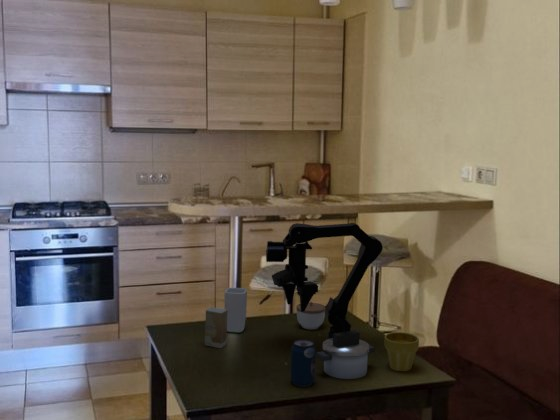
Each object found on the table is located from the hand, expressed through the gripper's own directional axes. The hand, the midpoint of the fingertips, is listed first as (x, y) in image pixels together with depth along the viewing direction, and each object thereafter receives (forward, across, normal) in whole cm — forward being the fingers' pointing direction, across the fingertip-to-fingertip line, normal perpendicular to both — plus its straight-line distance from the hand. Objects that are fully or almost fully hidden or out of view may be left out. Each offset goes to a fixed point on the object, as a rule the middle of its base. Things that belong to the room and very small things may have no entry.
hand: (295, 307), depth 216 cm
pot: (+13, +26, +3) cm, 29 cm away
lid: (+6, +26, +3) cm, 27 cm away
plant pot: (+13, +31, +20) cm, 39 cm away
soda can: (+13, +28, -13) cm, 34 cm away
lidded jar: (+13, -15, +15) cm, 25 cm away
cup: (+13, -22, -12) cm, 28 cm away
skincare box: (+13, -11, -24) cm, 30 cm away
